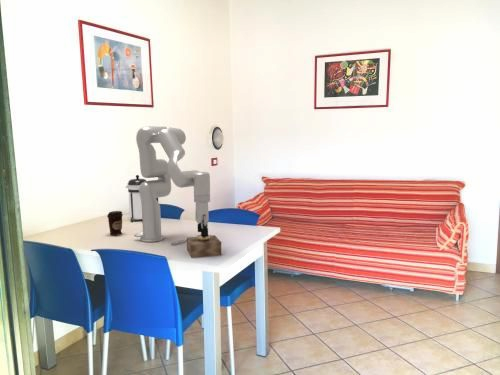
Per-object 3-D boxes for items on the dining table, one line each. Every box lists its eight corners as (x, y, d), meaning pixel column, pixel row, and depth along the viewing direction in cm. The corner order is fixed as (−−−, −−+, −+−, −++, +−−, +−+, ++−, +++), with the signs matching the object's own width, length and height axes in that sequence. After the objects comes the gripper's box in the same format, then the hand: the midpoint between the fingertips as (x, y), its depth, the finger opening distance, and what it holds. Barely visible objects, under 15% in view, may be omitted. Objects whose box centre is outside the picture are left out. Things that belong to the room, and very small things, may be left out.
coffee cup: (127, 233, 232) (126, 211, 231) (116, 236, 225) (115, 213, 223) (115, 232, 236) (114, 210, 235) (105, 235, 229) (103, 212, 227)
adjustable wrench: (172, 247, 205) (172, 243, 205) (166, 244, 210) (166, 241, 210) (213, 238, 221) (212, 234, 221) (206, 236, 226) (206, 232, 226)
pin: (198, 253, 190) (198, 237, 189) (197, 250, 195) (196, 234, 194) (210, 252, 191) (210, 236, 190) (208, 249, 197) (208, 233, 196)
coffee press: (139, 223, 259) (137, 176, 255) (122, 220, 268) (120, 175, 264) (159, 218, 273) (157, 174, 270) (143, 216, 282) (141, 173, 278)
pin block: (191, 257, 185) (190, 244, 184) (187, 249, 198) (186, 237, 197) (221, 254, 189) (221, 242, 188) (215, 247, 202) (215, 235, 201)
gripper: (191, 196, 197) (192, 230, 200) (197, 201, 181) (197, 239, 183) (206, 195, 199) (207, 229, 202) (213, 201, 183) (214, 238, 185)
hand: (202, 234), depth 192 cm, fingers open, 9 cm apart
